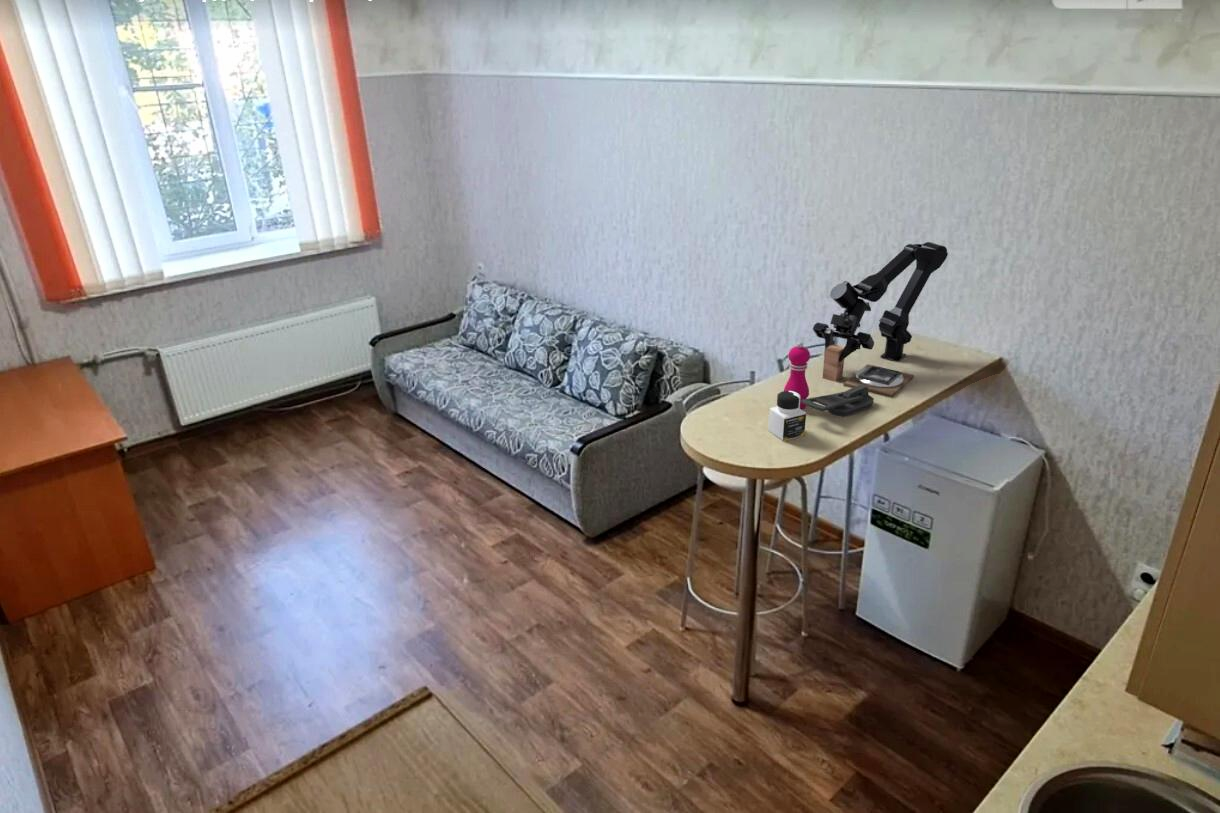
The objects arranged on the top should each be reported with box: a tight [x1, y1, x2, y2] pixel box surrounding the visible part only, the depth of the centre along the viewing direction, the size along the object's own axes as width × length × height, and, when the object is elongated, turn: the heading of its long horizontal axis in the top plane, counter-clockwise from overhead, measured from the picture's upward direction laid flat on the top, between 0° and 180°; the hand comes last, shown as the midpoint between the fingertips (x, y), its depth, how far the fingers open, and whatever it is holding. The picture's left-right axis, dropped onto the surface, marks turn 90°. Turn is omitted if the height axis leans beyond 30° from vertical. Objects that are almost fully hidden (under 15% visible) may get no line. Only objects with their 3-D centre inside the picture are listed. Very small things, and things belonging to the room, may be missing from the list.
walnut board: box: [843, 364, 915, 398], centre depth 240 cm, size 18×15×1 cm
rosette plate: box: [855, 364, 903, 388], centre depth 239 cm, size 14×14×2 cm
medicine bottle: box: [768, 390, 807, 442], centre depth 210 cm, size 7×7×12 cm
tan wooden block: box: [822, 344, 845, 382], centre depth 242 cm, size 4×4×10 cm
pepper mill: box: [783, 341, 811, 410], centre depth 223 cm, size 7×7×20 cm
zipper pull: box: [801, 385, 874, 418], centre depth 221 cm, size 9×7×25 cm
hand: (832, 359), depth 241 cm, fingers closed on tan wooden block, 4 cm apart
